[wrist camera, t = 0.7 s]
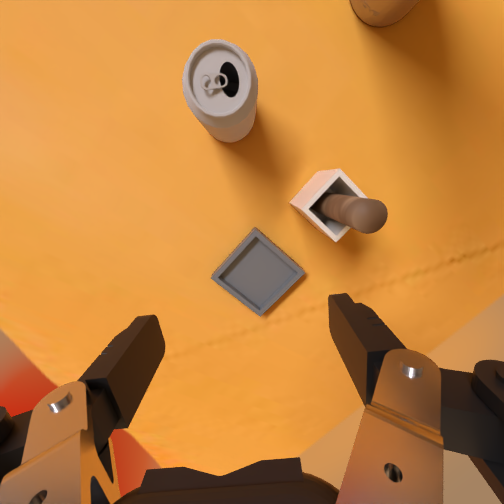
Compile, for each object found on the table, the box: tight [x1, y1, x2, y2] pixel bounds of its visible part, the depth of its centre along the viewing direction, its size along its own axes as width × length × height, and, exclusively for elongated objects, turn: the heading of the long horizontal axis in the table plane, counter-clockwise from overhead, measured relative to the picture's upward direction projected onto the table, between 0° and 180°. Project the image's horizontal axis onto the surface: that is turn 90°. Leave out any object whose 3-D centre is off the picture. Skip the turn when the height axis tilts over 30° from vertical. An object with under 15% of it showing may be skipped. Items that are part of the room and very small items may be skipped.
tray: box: [211, 227, 305, 316], centre depth 39 cm, size 11×11×2 cm
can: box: [182, 39, 258, 142], centre depth 27 cm, size 8×8×12 cm
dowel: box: [310, 192, 388, 234], centre depth 28 cm, size 3×3×16 cm
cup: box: [289, 169, 367, 242], centre depth 32 cm, size 6×6×9 cm
